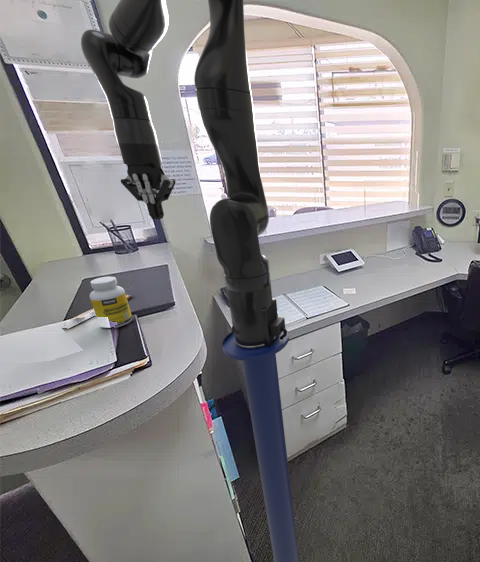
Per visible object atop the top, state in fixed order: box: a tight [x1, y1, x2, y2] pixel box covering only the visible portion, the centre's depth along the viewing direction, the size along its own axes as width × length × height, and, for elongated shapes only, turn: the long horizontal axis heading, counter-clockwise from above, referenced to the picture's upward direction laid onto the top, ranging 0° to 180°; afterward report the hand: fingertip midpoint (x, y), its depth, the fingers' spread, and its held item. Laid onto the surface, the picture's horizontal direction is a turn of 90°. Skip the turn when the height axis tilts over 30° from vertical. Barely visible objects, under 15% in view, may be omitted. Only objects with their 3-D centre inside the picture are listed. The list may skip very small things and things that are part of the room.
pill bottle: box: [89, 276, 133, 329], centre depth 75 cm, size 6×6×12 cm
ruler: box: [69, 294, 133, 320], centre depth 82 cm, size 3×18×1 cm, turn 174°
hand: (157, 218), depth 77 cm, fingers closed
